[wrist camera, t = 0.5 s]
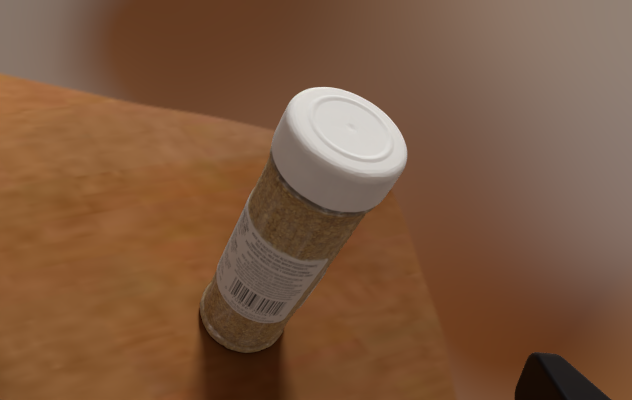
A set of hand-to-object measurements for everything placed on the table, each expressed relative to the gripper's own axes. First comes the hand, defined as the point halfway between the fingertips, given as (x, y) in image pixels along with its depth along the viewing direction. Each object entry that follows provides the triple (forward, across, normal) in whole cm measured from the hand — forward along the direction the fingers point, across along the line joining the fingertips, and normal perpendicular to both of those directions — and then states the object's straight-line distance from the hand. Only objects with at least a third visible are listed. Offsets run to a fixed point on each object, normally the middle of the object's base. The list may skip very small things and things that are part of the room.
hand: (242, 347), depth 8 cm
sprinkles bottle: (+14, +2, +13) cm, 19 cm away
